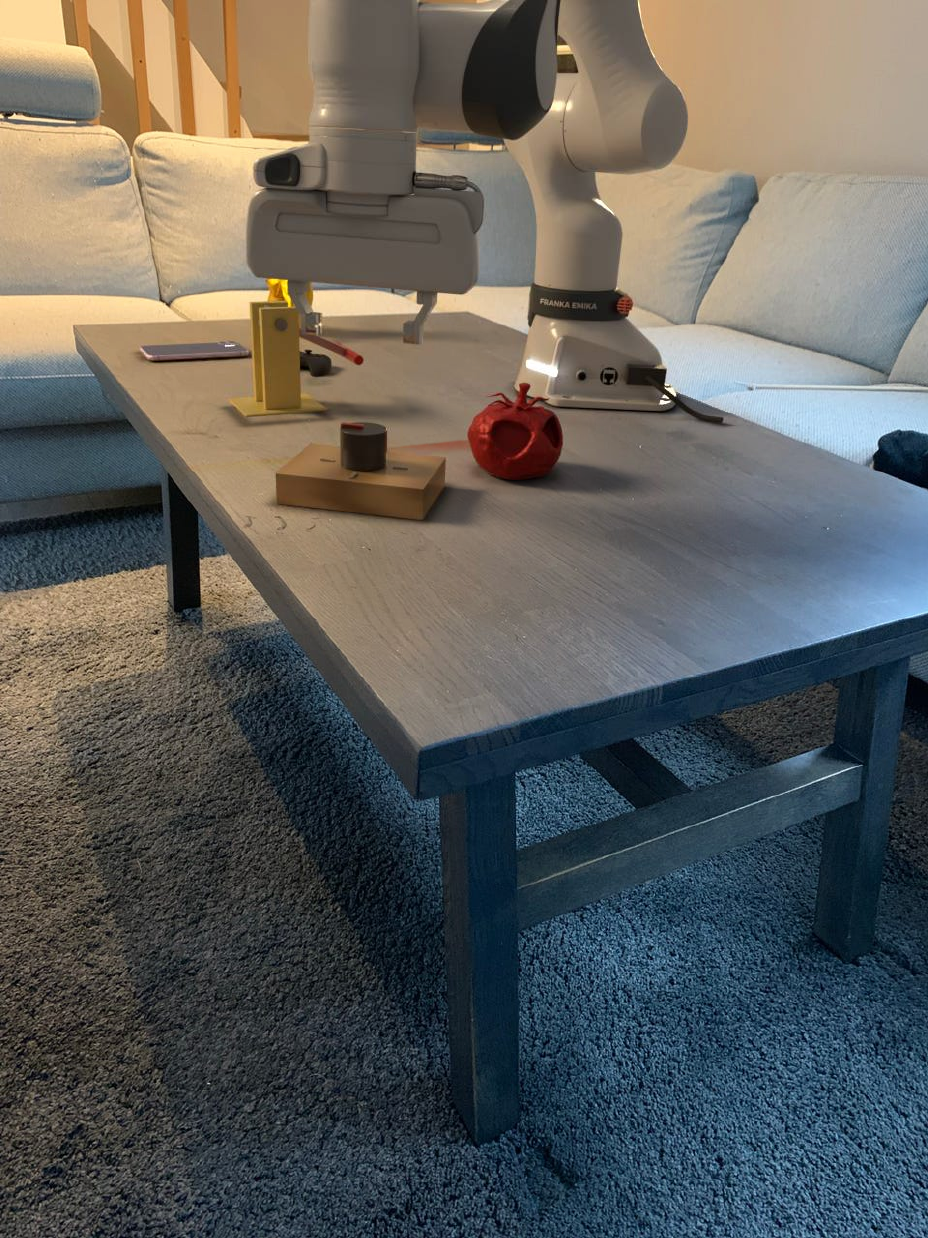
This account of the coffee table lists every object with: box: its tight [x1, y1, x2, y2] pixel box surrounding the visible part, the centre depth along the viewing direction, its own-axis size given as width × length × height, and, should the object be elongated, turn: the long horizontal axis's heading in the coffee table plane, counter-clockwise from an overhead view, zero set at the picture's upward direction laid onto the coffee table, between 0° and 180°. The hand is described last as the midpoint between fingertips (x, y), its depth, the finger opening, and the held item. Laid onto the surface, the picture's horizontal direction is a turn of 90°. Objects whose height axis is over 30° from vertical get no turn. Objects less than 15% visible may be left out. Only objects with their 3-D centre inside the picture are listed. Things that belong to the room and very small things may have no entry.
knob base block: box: [275, 442, 447, 521], centre depth 93 cm, size 14×10×3 cm
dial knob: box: [339, 421, 388, 471], centre depth 91 cm, size 4×4×4 cm
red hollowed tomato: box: [466, 383, 564, 481], centre depth 100 cm, size 10×10×9 cm
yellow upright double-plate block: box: [228, 300, 328, 418], centre depth 115 cm, size 10×8×13 cm
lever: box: [258, 305, 365, 366], centre depth 116 cm, size 12×8×2 cm, turn 117°
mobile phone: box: [139, 340, 250, 362], centre depth 144 cm, size 8×1×15 cm
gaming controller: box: [300, 349, 333, 378], centre depth 136 cm, size 10×5×6 cm
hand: (361, 338), depth 87 cm, fingers open, 8 cm apart
